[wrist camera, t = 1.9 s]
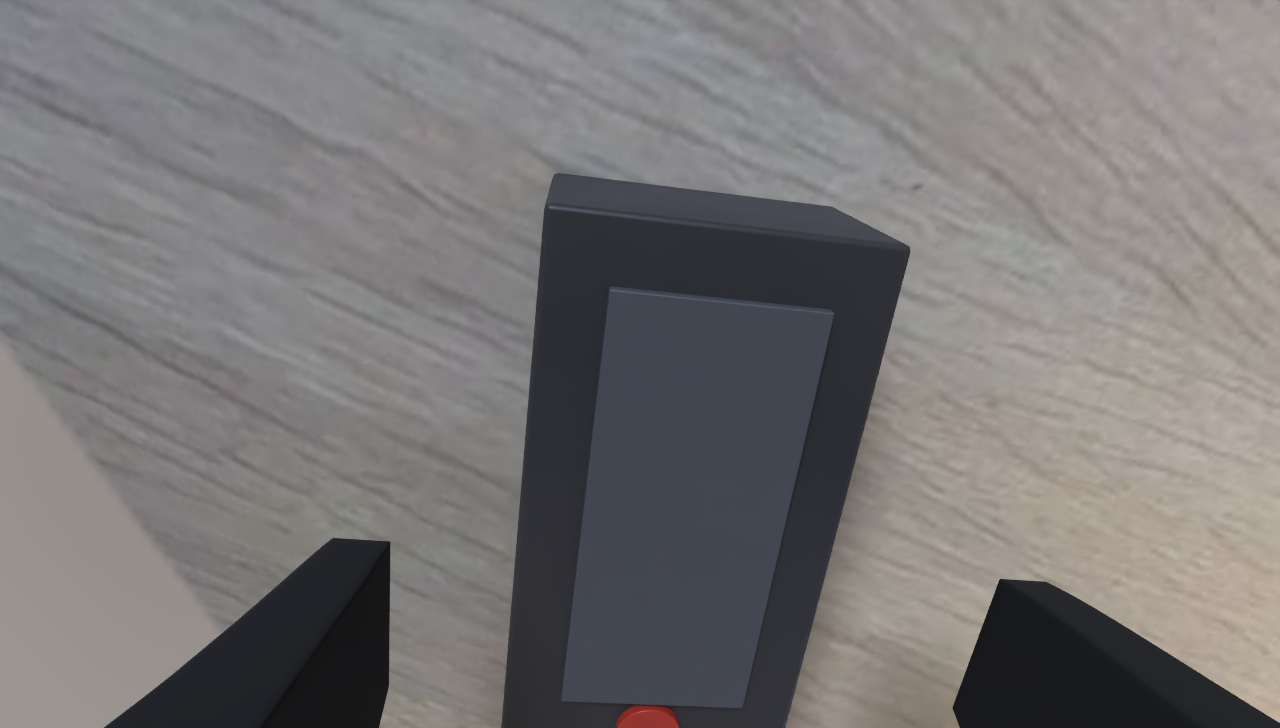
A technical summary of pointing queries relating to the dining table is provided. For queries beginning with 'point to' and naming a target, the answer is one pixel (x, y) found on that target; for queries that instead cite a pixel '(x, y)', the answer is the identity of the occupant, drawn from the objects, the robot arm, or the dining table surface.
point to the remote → (686, 450)
